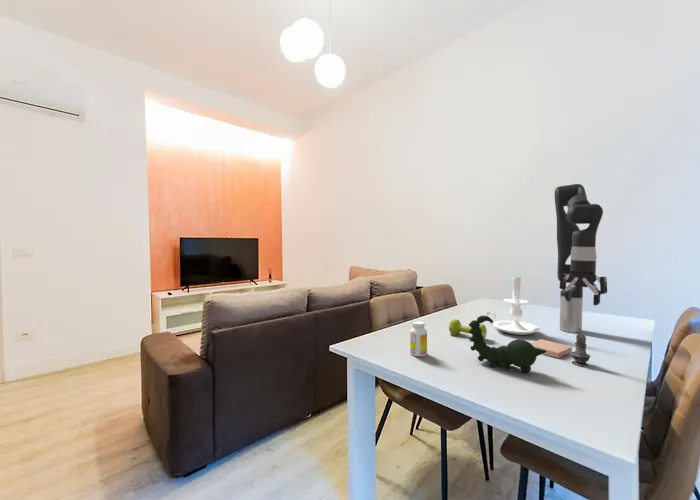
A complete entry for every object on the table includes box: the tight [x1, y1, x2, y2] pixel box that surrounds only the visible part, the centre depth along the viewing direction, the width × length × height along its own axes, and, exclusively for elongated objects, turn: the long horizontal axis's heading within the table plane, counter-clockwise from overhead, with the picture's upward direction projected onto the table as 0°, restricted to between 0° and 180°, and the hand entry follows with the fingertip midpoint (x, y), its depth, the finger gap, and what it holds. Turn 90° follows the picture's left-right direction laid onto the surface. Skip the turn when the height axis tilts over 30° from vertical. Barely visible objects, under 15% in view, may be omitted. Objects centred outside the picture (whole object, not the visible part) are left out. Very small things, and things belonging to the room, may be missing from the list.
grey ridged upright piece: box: [570, 331, 591, 368], centre depth 119 cm, size 6×6×12 cm
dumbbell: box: [448, 318, 488, 340], centre depth 152 cm, size 16×8×7 cm, turn 44°
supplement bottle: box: [409, 320, 428, 358], centre depth 129 cm, size 7×7×13 cm
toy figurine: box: [468, 315, 546, 374], centre depth 116 cm, size 9×19×25 cm
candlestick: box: [485, 275, 541, 336], centre depth 160 cm, size 21×25×28 cm
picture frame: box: [530, 338, 573, 359], centre depth 133 cm, size 2×12×12 cm
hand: (581, 303), depth 118 cm, fingers open, 8 cm apart
